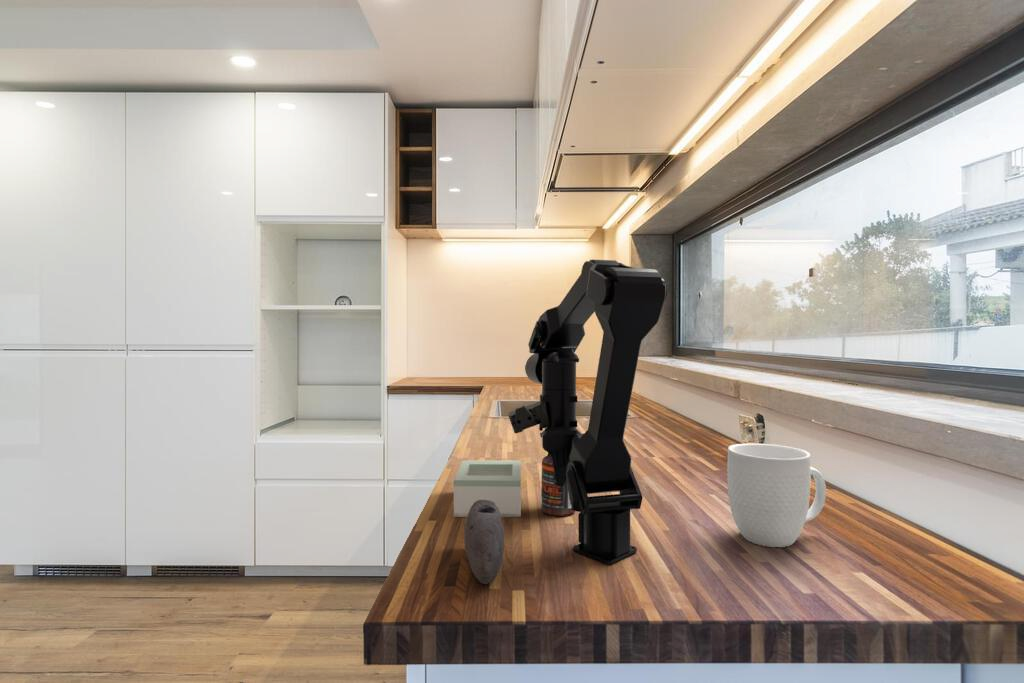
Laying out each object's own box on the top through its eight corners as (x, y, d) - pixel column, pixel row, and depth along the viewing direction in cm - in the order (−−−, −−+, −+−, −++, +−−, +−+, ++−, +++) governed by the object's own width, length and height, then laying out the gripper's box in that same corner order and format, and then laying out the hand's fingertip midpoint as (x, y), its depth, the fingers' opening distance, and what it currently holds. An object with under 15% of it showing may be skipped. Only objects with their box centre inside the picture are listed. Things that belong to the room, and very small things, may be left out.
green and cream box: (520, 492, 103) (520, 460, 103) (520, 517, 89) (520, 480, 89) (462, 491, 103) (462, 460, 103) (453, 516, 89) (453, 480, 89)
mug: (796, 522, 87) (797, 440, 87) (852, 548, 76) (853, 455, 76) (712, 528, 84) (712, 444, 84) (758, 557, 73) (759, 460, 73)
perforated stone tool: (506, 596, 63) (506, 535, 63) (460, 596, 62) (460, 536, 62) (503, 545, 78) (503, 496, 78) (466, 545, 77) (466, 497, 77)
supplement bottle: (535, 513, 91) (535, 446, 91) (549, 503, 96) (549, 440, 96) (568, 519, 88) (568, 449, 88) (581, 508, 93) (581, 443, 93)
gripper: (512, 383, 101) (512, 467, 101) (510, 394, 83) (510, 497, 83) (572, 383, 101) (572, 467, 101) (583, 394, 82) (583, 497, 83)
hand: (558, 480), depth 92 cm, fingers closed on supplement bottle, 6 cm apart
